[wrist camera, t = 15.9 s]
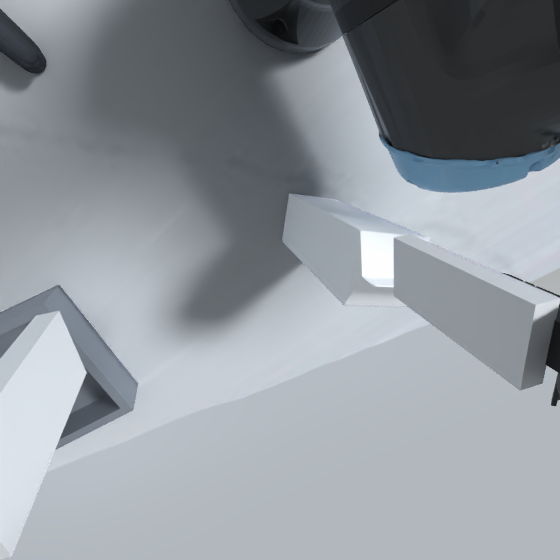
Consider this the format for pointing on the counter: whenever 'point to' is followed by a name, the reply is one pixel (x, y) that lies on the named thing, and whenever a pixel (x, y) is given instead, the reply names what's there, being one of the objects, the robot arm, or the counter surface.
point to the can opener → (20, 46)
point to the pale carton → (345, 248)
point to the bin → (94, 355)
